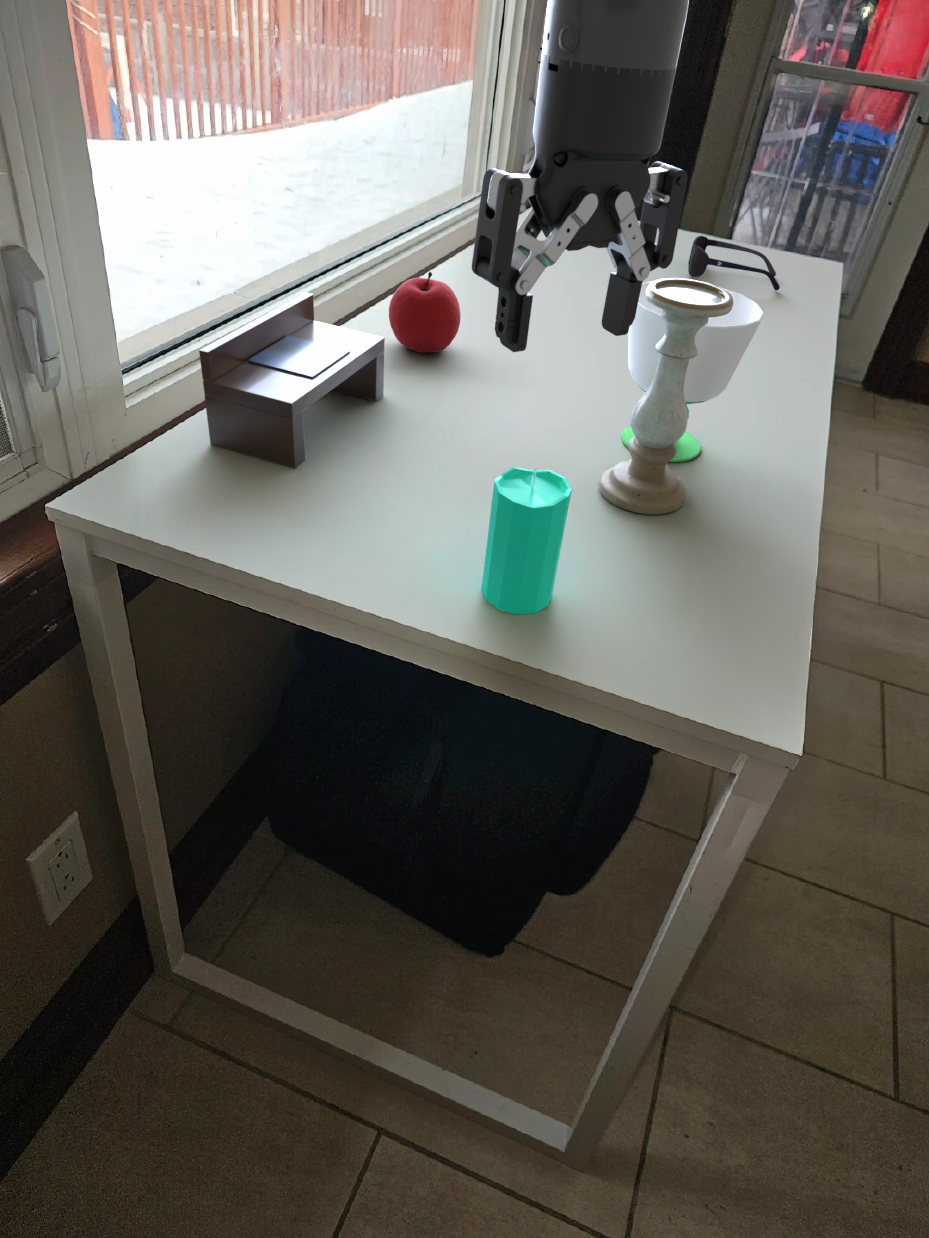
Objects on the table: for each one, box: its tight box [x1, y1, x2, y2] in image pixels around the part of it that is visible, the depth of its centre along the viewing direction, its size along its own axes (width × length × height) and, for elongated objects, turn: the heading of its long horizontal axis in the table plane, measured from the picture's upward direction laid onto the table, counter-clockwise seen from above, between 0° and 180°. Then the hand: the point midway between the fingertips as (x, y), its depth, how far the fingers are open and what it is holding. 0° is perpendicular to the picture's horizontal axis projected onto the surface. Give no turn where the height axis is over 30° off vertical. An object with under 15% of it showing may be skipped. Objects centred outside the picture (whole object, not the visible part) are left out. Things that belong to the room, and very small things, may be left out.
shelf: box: [198, 292, 385, 469], centre depth 89 cm, size 20×10×10 cm, turn 158°
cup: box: [620, 280, 765, 463], centre depth 90 cm, size 14×14×16 cm
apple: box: [388, 271, 461, 354], centre depth 108 cm, size 9×9×10 cm
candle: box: [481, 466, 573, 615], centre depth 67 cm, size 6×6×12 cm
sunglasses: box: [687, 235, 781, 291], centre depth 145 cm, size 14×16×5 cm
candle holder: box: [598, 277, 733, 515], centre depth 79 cm, size 9×9×20 cm
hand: (564, 339), depth 57 cm, fingers open, 8 cm apart
